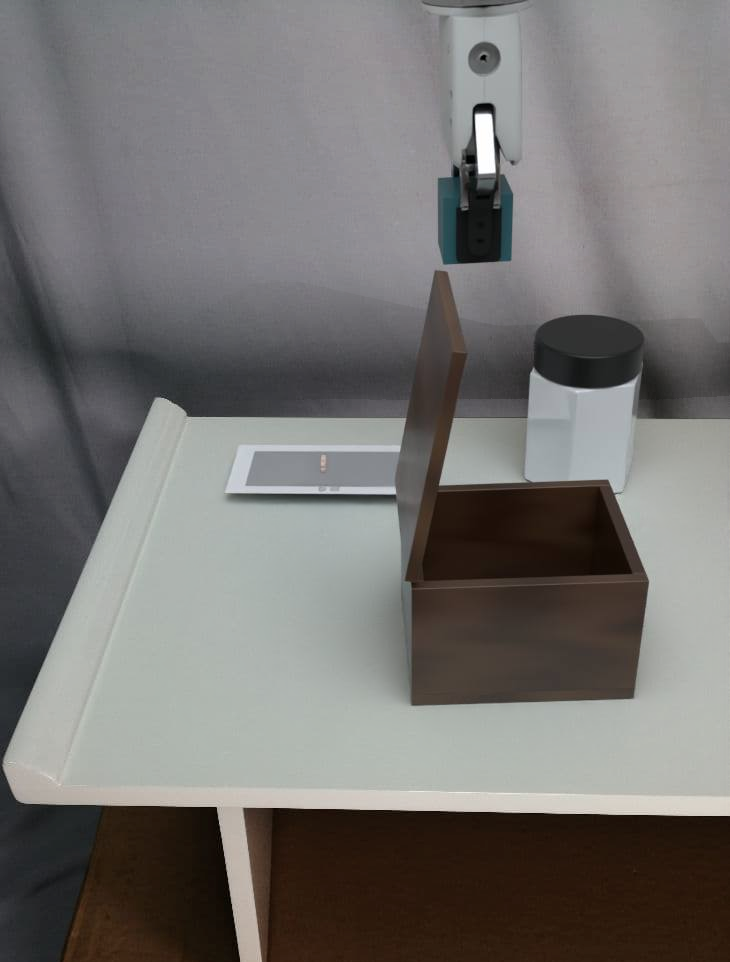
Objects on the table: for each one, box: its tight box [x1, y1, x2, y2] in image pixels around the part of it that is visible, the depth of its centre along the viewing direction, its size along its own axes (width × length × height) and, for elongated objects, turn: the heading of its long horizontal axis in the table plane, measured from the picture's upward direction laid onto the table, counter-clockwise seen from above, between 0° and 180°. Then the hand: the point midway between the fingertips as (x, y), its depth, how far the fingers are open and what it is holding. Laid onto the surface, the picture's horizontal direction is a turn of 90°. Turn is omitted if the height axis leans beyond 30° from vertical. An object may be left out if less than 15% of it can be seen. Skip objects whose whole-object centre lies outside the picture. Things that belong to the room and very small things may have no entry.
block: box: [437, 173, 514, 266], centre depth 87 cm, size 5×5×5 cm
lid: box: [395, 269, 468, 583], centre depth 68 cm, size 14×12×1 cm
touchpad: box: [224, 444, 401, 495], centre depth 95 cm, size 8×15×2 cm, turn 85°
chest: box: [400, 479, 650, 706], centre depth 74 cm, size 14×12×9 cm
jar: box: [523, 314, 646, 494], centre depth 92 cm, size 9×8×12 cm
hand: (474, 245), depth 88 cm, fingers closed on block, 5 cm apart
